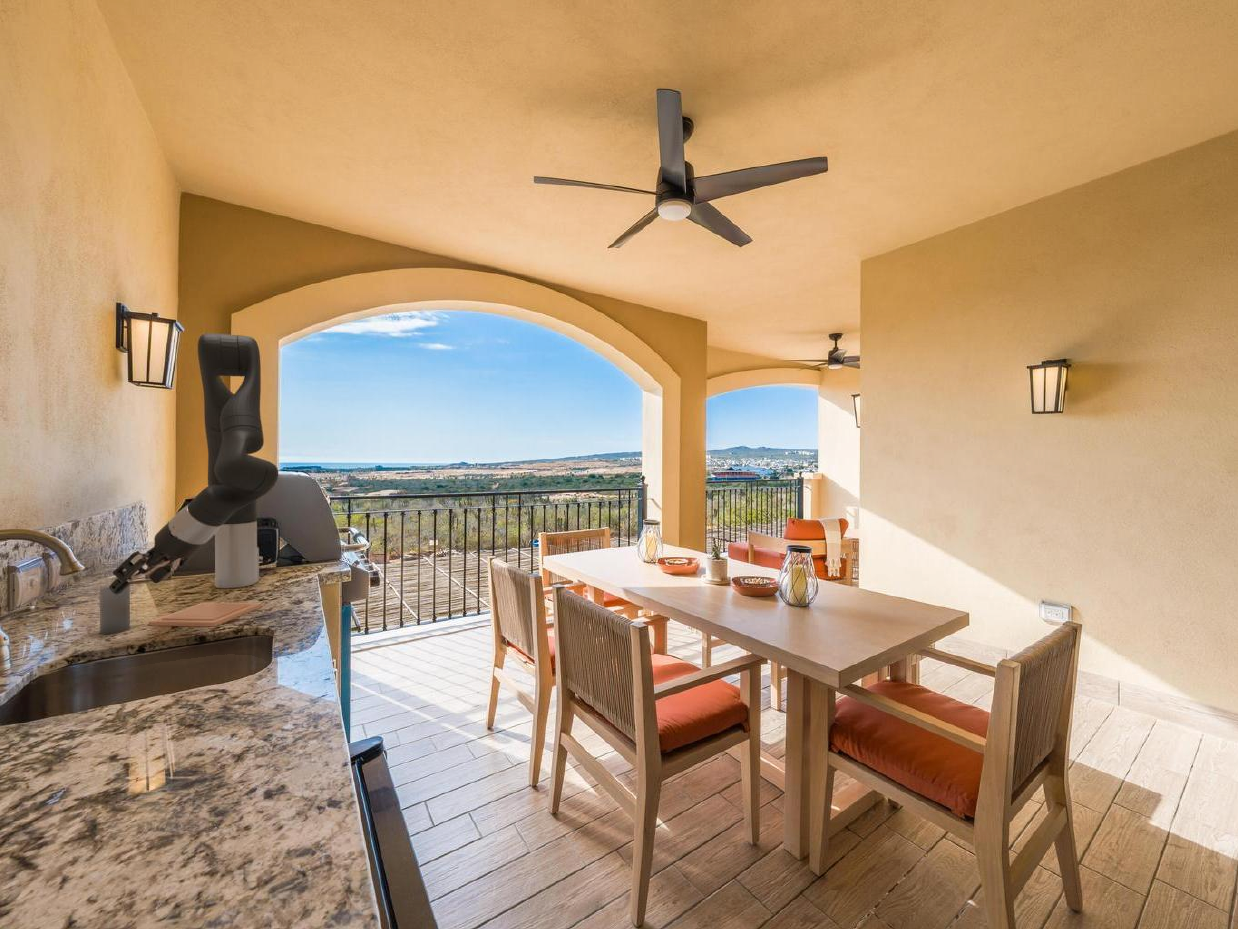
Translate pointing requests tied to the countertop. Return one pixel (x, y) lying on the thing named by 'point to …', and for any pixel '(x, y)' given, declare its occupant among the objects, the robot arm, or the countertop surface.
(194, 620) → the coaster
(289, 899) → the countertop surface
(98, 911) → the countertop surface
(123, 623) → the grey tall block
